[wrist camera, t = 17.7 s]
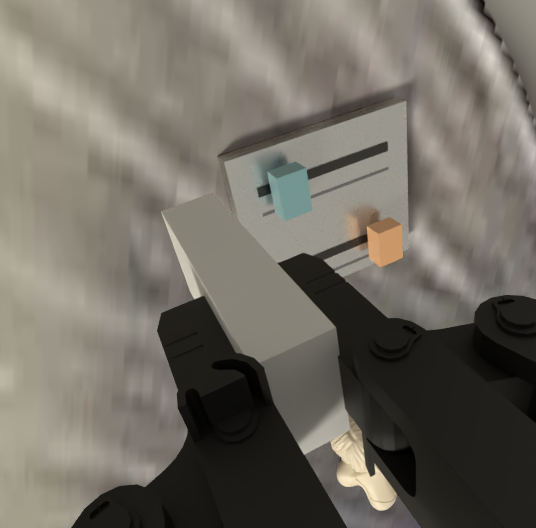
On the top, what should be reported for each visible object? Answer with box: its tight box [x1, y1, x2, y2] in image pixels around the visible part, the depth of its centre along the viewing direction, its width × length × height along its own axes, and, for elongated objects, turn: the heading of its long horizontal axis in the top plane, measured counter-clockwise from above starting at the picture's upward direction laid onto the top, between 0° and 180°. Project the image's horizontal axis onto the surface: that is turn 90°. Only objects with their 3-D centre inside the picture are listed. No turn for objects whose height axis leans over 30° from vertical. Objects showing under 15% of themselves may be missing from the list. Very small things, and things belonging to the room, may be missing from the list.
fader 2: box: [367, 217, 403, 267], centre depth 51 cm, size 3×4×3 cm
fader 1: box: [267, 161, 313, 221], centre depth 43 cm, size 3×4×3 cm
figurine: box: [330, 415, 397, 510], centre depth 70 cm, size 14×9×20 cm
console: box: [218, 98, 409, 277], centre depth 49 cm, size 20×18×2 cm
